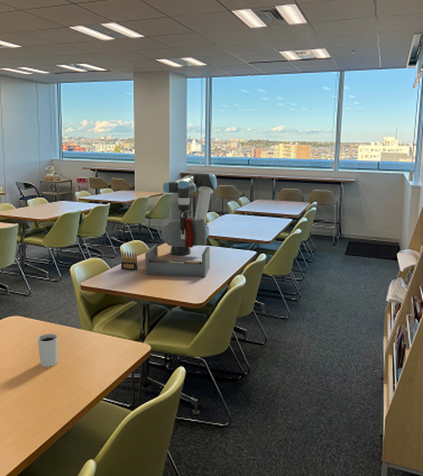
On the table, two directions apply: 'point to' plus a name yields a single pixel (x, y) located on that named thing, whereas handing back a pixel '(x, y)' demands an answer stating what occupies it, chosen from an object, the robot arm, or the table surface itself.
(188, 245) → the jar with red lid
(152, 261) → the walnut offcut
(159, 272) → the rack
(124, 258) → the ammunition clip
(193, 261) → the teak offcut
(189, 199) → the robot arm
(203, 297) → the table surface
